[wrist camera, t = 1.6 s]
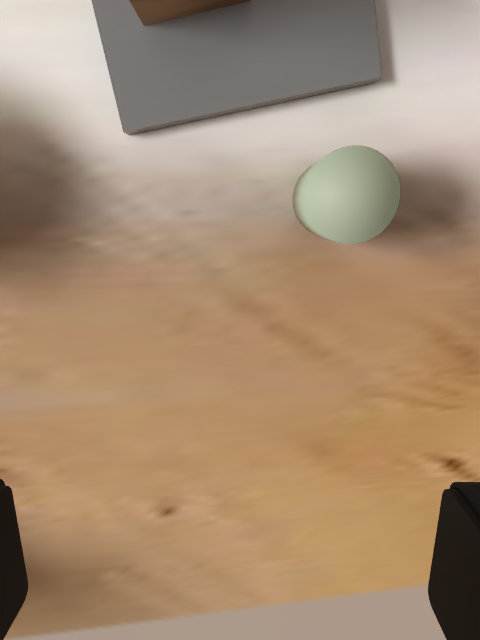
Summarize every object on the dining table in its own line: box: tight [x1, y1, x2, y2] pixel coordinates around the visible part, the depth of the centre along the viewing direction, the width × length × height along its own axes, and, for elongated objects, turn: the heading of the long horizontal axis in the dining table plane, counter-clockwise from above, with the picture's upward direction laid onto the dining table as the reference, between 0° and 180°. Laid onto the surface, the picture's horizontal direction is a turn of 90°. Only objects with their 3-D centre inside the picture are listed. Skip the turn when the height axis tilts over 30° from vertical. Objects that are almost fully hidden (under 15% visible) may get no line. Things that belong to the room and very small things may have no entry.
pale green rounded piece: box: [293, 146, 401, 244], centre depth 23 cm, size 5×5×6 cm
